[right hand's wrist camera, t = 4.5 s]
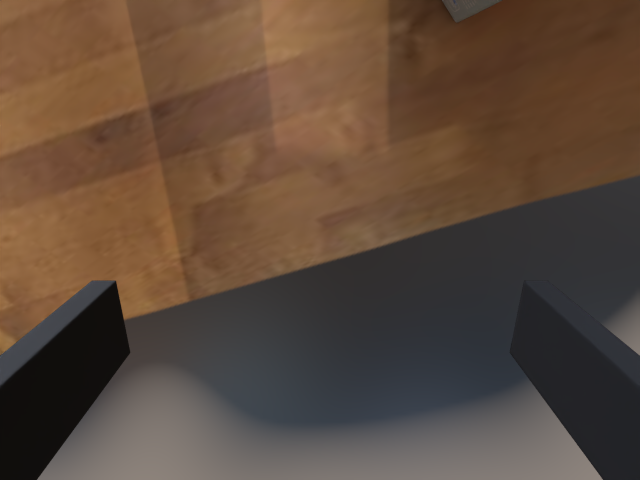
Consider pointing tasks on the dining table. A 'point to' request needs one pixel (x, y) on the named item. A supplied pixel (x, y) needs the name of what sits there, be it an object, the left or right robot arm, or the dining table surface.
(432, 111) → the dining table surface
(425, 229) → the dining table surface
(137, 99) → the dining table surface
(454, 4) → the hard drive box
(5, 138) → the dining table surface
